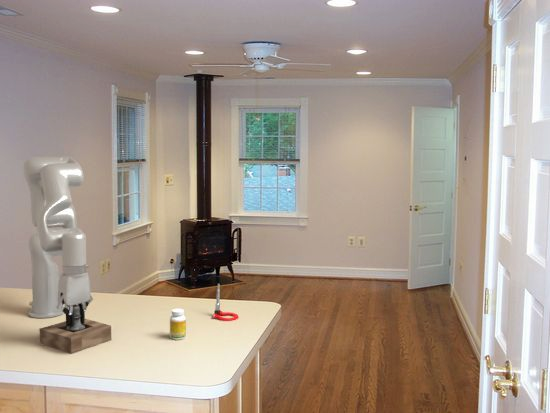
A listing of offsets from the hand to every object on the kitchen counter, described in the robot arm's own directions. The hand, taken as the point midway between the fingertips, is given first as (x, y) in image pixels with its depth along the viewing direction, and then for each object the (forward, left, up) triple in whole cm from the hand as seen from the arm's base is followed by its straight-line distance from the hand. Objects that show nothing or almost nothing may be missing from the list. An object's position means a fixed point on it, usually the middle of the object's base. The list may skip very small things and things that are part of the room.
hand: (75, 323), depth 198 cm
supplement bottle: (+24, +23, -6) cm, 34 cm away
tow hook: (+23, +51, -6) cm, 56 cm away
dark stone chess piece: (0, 0, -5) cm, 5 cm away
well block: (0, 0, -6) cm, 6 cm away
